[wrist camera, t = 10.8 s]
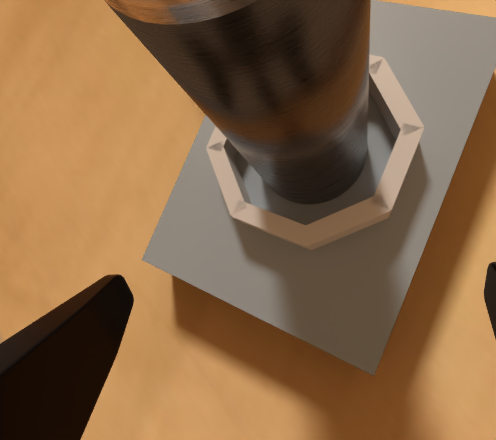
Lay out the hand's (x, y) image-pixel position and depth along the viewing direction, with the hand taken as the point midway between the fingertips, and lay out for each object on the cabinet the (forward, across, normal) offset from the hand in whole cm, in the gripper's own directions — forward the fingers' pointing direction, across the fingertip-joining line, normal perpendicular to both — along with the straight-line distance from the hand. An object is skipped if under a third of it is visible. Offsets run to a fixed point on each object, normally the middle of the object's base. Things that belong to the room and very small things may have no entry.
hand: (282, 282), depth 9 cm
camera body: (+12, 0, +3) cm, 12 cm away
